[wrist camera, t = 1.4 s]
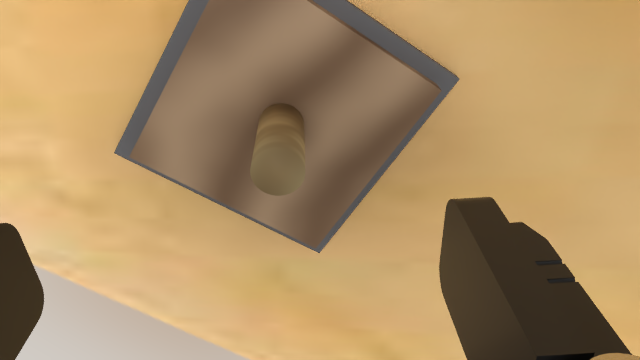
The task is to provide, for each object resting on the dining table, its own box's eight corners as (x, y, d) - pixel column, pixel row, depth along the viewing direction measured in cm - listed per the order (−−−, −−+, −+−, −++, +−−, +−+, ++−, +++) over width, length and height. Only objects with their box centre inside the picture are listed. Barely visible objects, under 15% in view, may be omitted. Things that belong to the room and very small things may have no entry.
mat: (456, 76, 30) (459, 79, 30) (318, 248, 37) (319, 253, 36) (229, -81, 26) (228, -80, 25) (117, 149, 32) (114, 153, 32)
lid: (436, 83, 30) (472, 132, 24) (315, 238, 36) (318, 310, 30) (236, -51, 26) (216, -35, 20) (134, 148, 32) (94, 210, 25)
